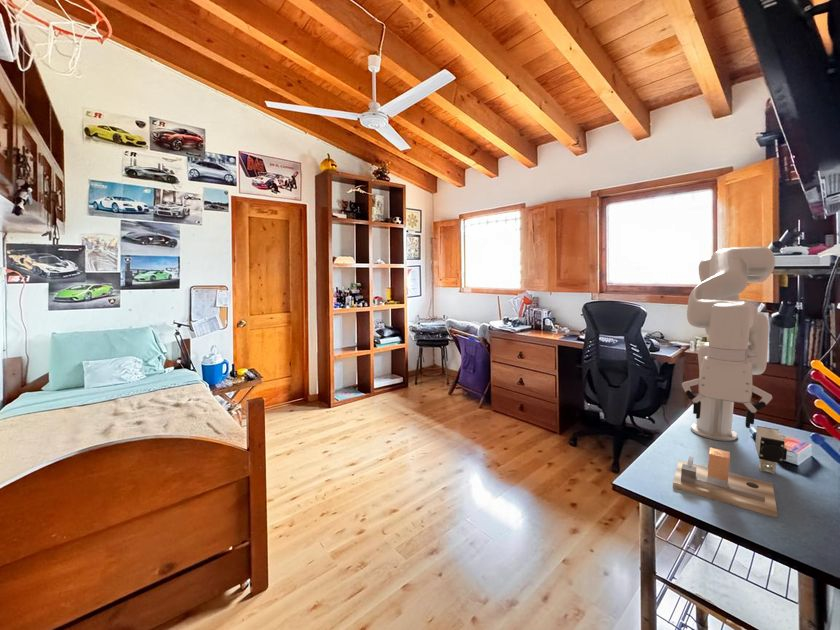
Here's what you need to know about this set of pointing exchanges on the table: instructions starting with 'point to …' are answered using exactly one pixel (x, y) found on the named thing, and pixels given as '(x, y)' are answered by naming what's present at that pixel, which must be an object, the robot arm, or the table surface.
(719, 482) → the block
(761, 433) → the pneumatic valve
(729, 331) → the robot arm
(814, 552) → the table surface
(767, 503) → the plate
